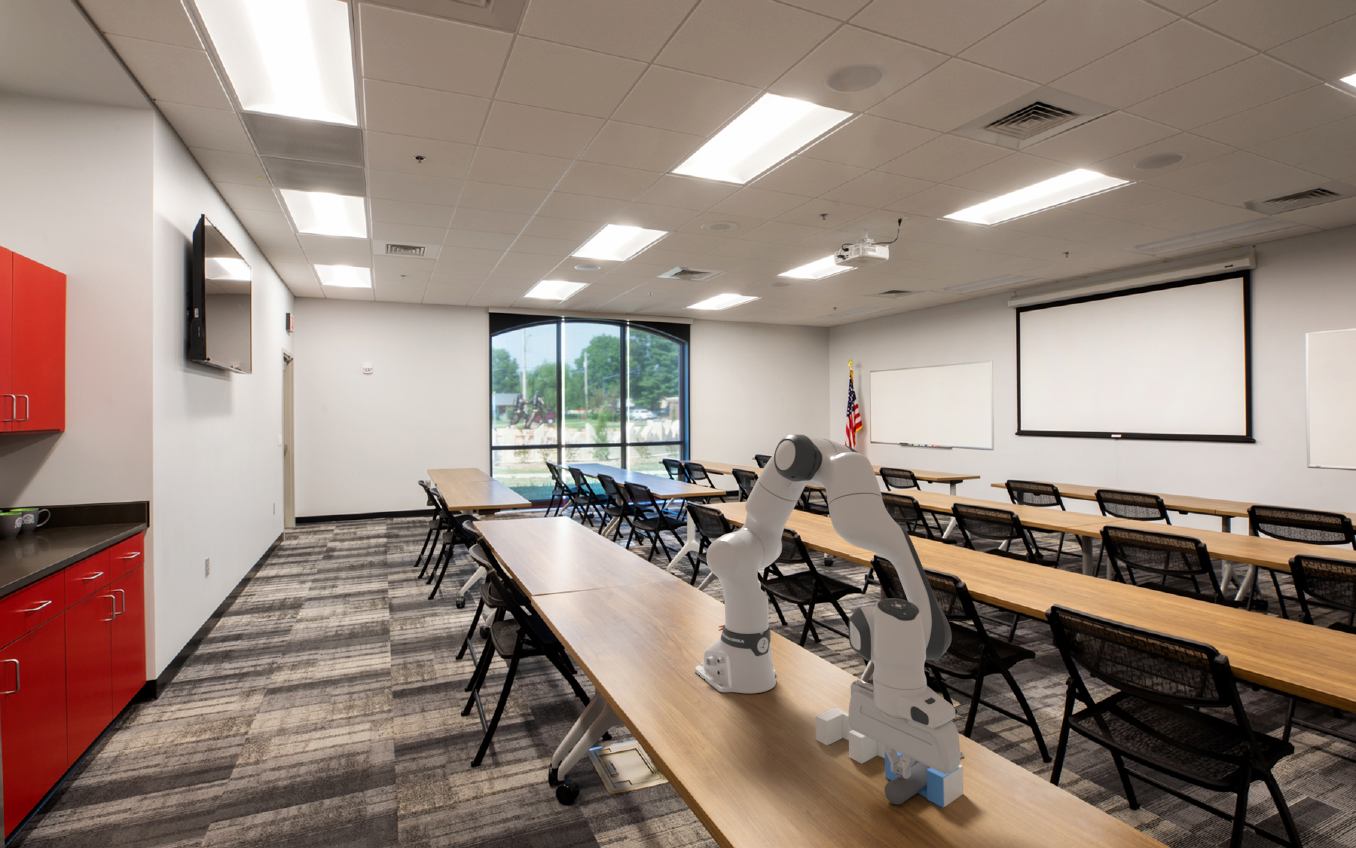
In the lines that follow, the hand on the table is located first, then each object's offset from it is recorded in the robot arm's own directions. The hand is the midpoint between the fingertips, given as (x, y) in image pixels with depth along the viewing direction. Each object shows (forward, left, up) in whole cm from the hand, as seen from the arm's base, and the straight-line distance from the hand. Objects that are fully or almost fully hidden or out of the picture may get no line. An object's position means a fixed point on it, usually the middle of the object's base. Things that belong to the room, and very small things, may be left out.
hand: (900, 774), depth 108 cm
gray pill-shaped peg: (0, +2, -4) cm, 5 cm away
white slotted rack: (-8, +7, -4) cm, 12 cm away
